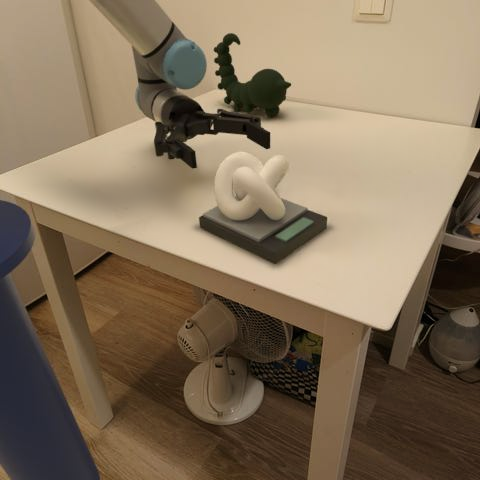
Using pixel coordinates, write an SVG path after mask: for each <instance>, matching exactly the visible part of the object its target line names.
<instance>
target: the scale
mask: <svg viewBox="0 0 480 480" xmlns="http://www.w3.org/2000/svg"><path fill="white" fill-rule="evenodd" d="M234 196H235V199H236V200H237V201H240V200H239V199H238V198H237V196H236V195H234ZM280 198H281V200H282V202H283V204H284V206H285V208H286V209H285V215H284V216H283V218H281V219H279V220H272V219H270V218H269V217H268V216H267V215H266V214H265V213H264V212H263V210H262V209H261V208H260V210H259V211H258V212H256V213H255V214H254V215H253V216H252V217H250V218H249V219H246V220H232V219H230V218H228V217H226V216H225V215H224V214H223V213H222V212H221V210H220V209H219V207H218V205H216V206H214V207H213V208H211V209H209V210H207V211H205V212H204V213H202V215H200V216H199V217H198V221H199V228H200V229H201V230H204V231H206V232H208V233H209V234H212V235H213V236H216V237H218V238H220V239H223V240H225V241H227V242H229V243H231V244H233V245H235V246H237V247H239V248H241V249H243V250H245V251H247V252H250V253H251V254H252V255H253V254H254V255H255V256H258V257H260V258H262V259H264V260H266V261H268V262H270V263H272V264H274V265H276V264H278V263H279V262H281V261H282V260H284V259H285V258H286V257H288V256H290V254H292V253H293V252H294V251H296V250H298V249H299V248H300V247H302V246H303V245H305V244H306V243H308V242H309V241H310V240H311V239H313V238H314V237H316V236H317V235H319V234H320V233H321V232H323V231H325V229H327V225H328V216H326V215H324V214H321V213H318V212H315V211H313V210H310V209H309V208H308V207H306V206H303V205H300V204H298V203H295V202H294V201H291V200H287V199H284V198H283V197H280Z"/></svg>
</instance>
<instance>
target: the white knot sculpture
mask: <svg viewBox="0 0 480 480" xmlns="http://www.w3.org/2000/svg"><path fill="white" fill-rule="evenodd" d="M289 163H290V162H289V161H288V159H287V157H285V156H284V155H282V154H275V155H274V156H272V157H270V158H269V159H268V160H267V162H266V163H265V165H264V164H263V163H262V162H261V161H260V159H259V158H257V157H256V156H255V155H254V154H252V153H250V152H246V151H237V152H233V153H231V154H229V155H227V156H226V157H225V158H224V159H223V161H222V162H221V163H220V164H219V166H218V169H217V170H216V174H215V176H214V184H213V192H214V193H213V194H214V198H215V202H216V204H217V205H216V206H218V207H219V209H220V210H221V212H222V213H223V214H224V215H225V216H226V217H228V218H230V219H232V220H246V219H249V218H250V217H252V216H253V215H254V214H255V213H256V212H258V211H259V210H260V208H261V209H262V210H263V212H264V213H265V214H266V215H267V216H268V217H269V218H270V219H272V220H279V219H281V218H283V216H284V215H285V209H286V208H285V206H284V204H283V202H282V200H281V198H282V197H281V196H280V194H279V192H278V190H277V187H278V186H279V185H280V183H281V182H282V181H283V179H284V178H285V176H286V174H287V173H288V171H289V167H290V164H289ZM235 196H237V198H238V199H239V200H240V201H237V200H236V199H235Z"/></svg>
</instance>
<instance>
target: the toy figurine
mask: <svg viewBox="0 0 480 480" xmlns="http://www.w3.org/2000/svg"><path fill="white" fill-rule="evenodd" d="M233 43H236V44H237V45H238V46H241V40H240V38H239V37H238V35H237V34H235V33H233V32H228V33H227V34H224V36H223V37H222V41H221V42H219V43H217V44H216V46H214V47H213V52H214V53H216V55H217V57H215V58H213V62H214V63H215V64H216V65H218V66H219V67H218V69H216V70H215V71H214V74H215V76H216V77H220V78H221V79H220V82H218V83H217V88H218V90H224V91H225V94H226V96H225V97H224V98H223V102H224V104H226V105H230V104H231V103H233V105H232V108H233V110H234V111H235V112H239V111H241V109H243V112H244V113H245V114H250V113H252V112H253V110H254V109H259V110H262V111H263V112H264V115H265V116H266V117H267V118H269V119H272V118H274V117H277V116H278V115H279V114H280V110H281V109H280V106H281V104H283V102H284V101H286V100H287V92H288V91H287V90H288V89H289V88H290V87H292V83H291V82H289V81H286V80H285V78H284V76H283V75H282V74H281V73H280V72H279V71H277V70H276V69H273V68H263V69H261V70H258V71H257V72H255V74H254V75H253V76H252V77H251V79H249V80H248V81H245V82H241V81H239V78H238V76H237V75H236V73H235V71H236V70H235V67H234V64H232V63H233V57H232V55H231V53H230V51H231V50H230V46H231V45H232V44H233Z"/></svg>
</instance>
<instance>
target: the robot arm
mask: <svg viewBox="0 0 480 480" xmlns="http://www.w3.org/2000/svg"><path fill="white" fill-rule="evenodd" d="M88 1H89V2H90V3H91V4H92V5H93V6H94V7H95V8H96V9H97V11H98V12H99V13H101V14H102V16H103V17H104V18H105V19H106V20H107V22H109V23H110V24H111V25H112V26H113V27H114V28H115V29H116V31H117V32H119V34H120V35H121V36H122V37H123V38H124V39H125V40H126V41H127V42H128V43H129V44H130V45H131V49H132V55H133V60H134V61H133V62H134V67H135V71H136V77H137V87H136V89H135V95H134V99H135V104H136V106H137V107H138V109H139V110H140V111H141V112H142V113H143V115H144V116H145V117H147V118H148V119H150V120H152V121H154V126H155V135H154V139H153V145H154V151H155V156H156V157H158V158H159V157H163V156H164V154H167V159H168V160H170V161H171V160H172V161H173V160H175V159H176V160H181V161H182V162H183V163H184V164H185V165H187V166H188V167H189V168H191V169H192V170H194V169H197V168H198V165H197V164H198V163H197V154H196V150H194V149H193V148H192V147H191V146H189V145H188V144H186V143H187V141H189V140H192V139H194V138H195V137H196V136H204V135H210V136H211V135H212V136H217V135H218V134H230V135H239V136H240V135H241V136H246V138H247V139H248V140H250V141H251V142H253V143H254V144H256V145H258V146H260V147H261V148H263V149H265V150H270V149H271V132H270V131H268V129H265V128H264V127H262V116H256V115H252V114H247V113H241V112H236V111H235V112H234V111H229V110H226V109H224V108H218V109H216V113H209V112H206V111H205V110H204V108H203V107H202V105H200V103H199V102H198V101H196V100H195V99H193V98H191V97H189V96H188V95H186V94H184V93H183V92H181V91H178V89H179V90H185V91H186V90H192V89H195V88H196V87H198V85H200V84H201V83H202V81H203V80H204V78H205V76H206V73H207V68H208V65H207V57H206V54H205V53H204V51H203V49H202V48H201V47H200V46H199V45H198V44H196V42H194V41H192V40H191V39H189V38H187V36H185V35H184V33H183V32H182V31H181V30H180V29H179V28H178V26H177V25H176V24H175V22H173V20H172V19H171V18H170V17H169V15H168V14H167V13H166V11H165V10H164V9H163V8H162V7H161V5H160V4H159V3H158V1H156V0H88ZM212 127H213V128H212Z"/></svg>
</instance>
